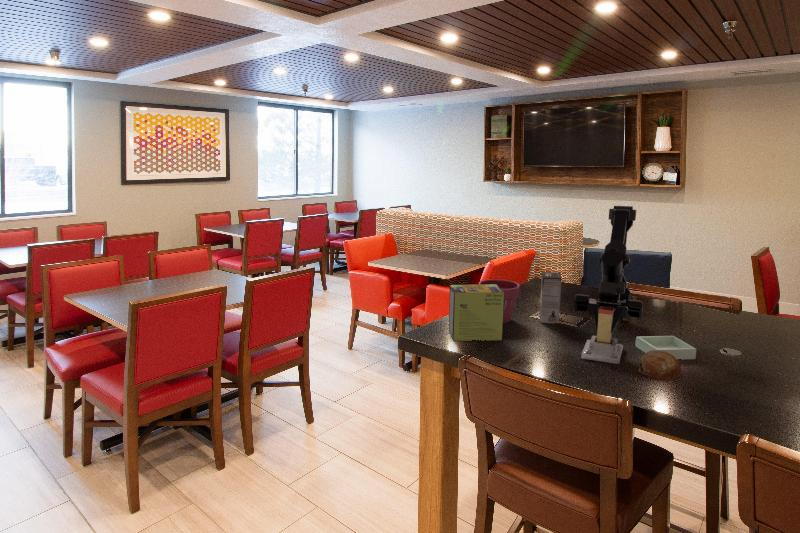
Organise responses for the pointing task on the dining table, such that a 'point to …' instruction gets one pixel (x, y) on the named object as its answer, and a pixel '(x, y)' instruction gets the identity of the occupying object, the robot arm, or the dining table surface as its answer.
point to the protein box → (476, 312)
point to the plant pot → (506, 295)
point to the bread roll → (659, 365)
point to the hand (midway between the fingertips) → (604, 331)
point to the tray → (666, 346)
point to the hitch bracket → (602, 351)
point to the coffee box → (550, 297)
